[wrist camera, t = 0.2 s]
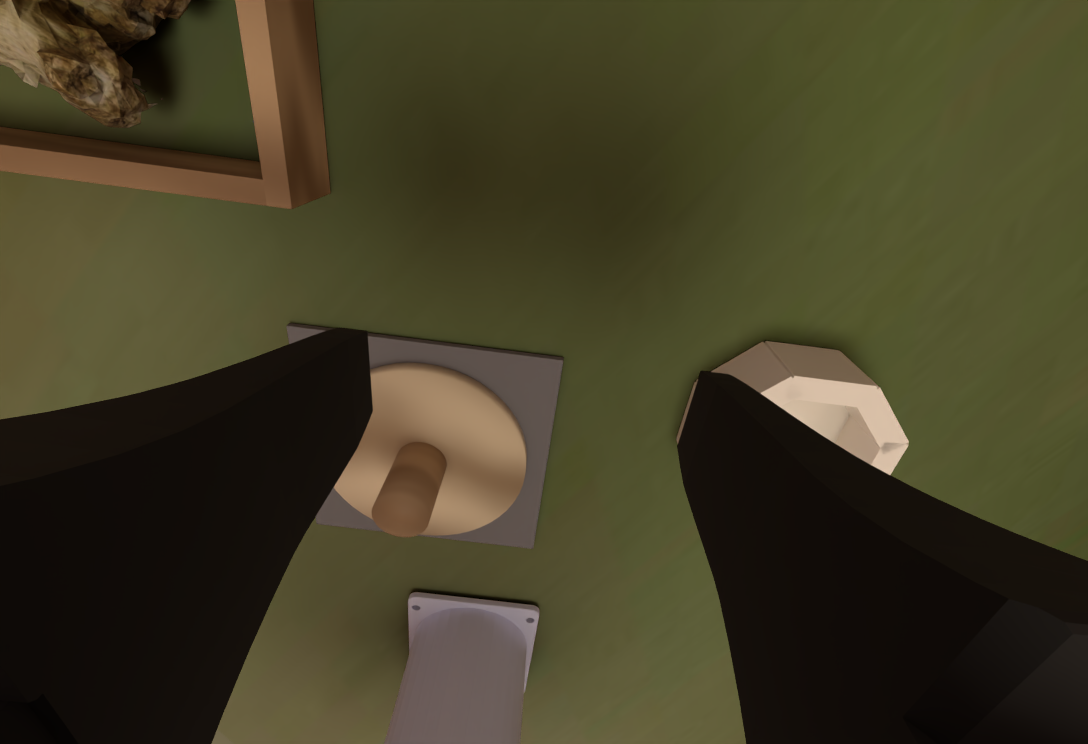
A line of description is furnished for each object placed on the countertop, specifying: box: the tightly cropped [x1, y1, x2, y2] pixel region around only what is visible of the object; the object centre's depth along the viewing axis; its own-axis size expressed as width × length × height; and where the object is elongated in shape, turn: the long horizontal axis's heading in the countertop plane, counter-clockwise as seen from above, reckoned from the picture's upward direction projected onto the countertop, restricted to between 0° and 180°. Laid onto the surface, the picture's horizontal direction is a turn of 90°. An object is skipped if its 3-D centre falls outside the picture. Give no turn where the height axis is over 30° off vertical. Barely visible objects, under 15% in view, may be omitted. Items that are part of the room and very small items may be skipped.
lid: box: [334, 363, 527, 537], centre depth 22 cm, size 10×10×4 cm
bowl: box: [676, 341, 909, 475], centre depth 21 cm, size 8×8×3 cm
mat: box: [287, 323, 563, 549], centre depth 24 cm, size 12×12×1 cm
